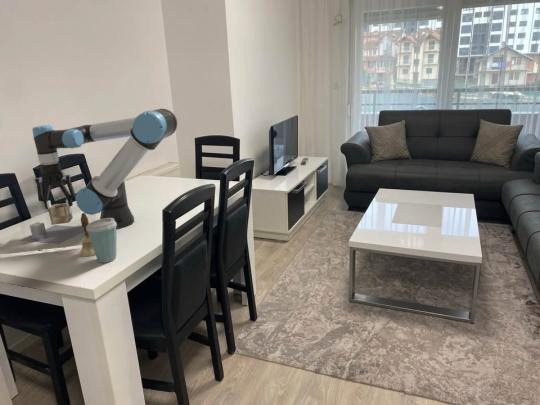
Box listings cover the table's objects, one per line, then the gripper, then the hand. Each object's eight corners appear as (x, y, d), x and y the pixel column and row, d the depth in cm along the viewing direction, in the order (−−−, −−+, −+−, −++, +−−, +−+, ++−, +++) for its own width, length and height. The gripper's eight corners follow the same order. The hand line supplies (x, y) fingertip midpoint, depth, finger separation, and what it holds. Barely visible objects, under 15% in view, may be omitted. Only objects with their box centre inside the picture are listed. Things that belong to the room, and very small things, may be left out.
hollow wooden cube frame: (72, 217, 189) (69, 202, 187) (69, 222, 183) (65, 206, 180) (56, 219, 188) (52, 204, 186) (51, 224, 181) (47, 208, 179)
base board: (91, 230, 189) (90, 227, 188) (58, 247, 172) (58, 244, 171) (55, 228, 195) (55, 225, 195) (21, 243, 178) (20, 240, 177)
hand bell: (75, 253, 165) (68, 214, 161) (96, 246, 171) (89, 208, 166) (84, 258, 159) (76, 218, 155) (105, 251, 165) (98, 213, 160)
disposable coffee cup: (90, 267, 152) (83, 228, 147) (93, 255, 162) (86, 218, 157) (121, 262, 154) (115, 223, 150) (122, 251, 164) (116, 214, 160)
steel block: (47, 240, 180) (44, 222, 178) (40, 243, 177) (36, 225, 174) (40, 239, 181) (37, 222, 179) (33, 243, 178) (29, 225, 175)
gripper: (76, 158, 183) (86, 209, 190) (27, 163, 179) (39, 214, 186) (72, 162, 176) (83, 214, 183) (20, 167, 172) (33, 220, 179)
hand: (61, 214), depth 184 cm, fingers closed on hollow wooden cube frame, 7 cm apart
